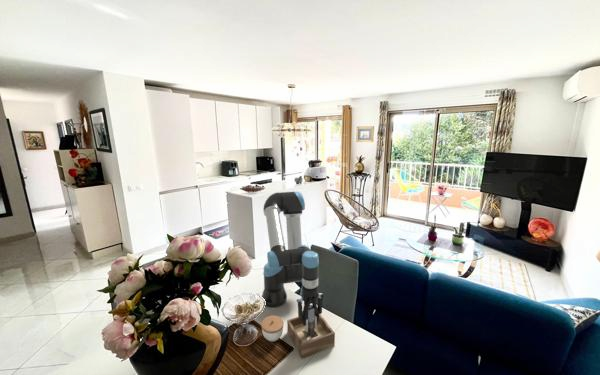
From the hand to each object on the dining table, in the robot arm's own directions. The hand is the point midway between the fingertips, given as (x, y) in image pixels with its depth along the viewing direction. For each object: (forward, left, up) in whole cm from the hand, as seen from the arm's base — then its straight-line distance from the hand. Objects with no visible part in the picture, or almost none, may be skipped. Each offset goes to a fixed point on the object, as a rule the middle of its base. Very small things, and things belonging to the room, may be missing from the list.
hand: (310, 328), depth 120 cm
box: (0, 0, -6) cm, 6 cm away
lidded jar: (-9, -16, -6) cm, 19 cm away
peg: (0, 0, -3) cm, 3 cm away
